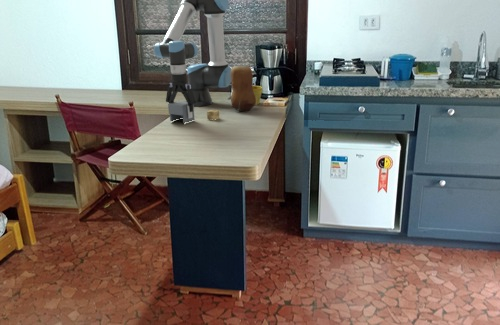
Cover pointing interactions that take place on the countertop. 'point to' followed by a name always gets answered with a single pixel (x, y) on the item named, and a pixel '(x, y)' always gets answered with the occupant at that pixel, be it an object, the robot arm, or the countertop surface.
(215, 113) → the ochre block
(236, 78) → the butternut squash
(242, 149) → the countertop surface
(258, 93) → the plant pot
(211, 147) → the countertop surface
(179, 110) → the grey mini stool
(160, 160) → the countertop surface
